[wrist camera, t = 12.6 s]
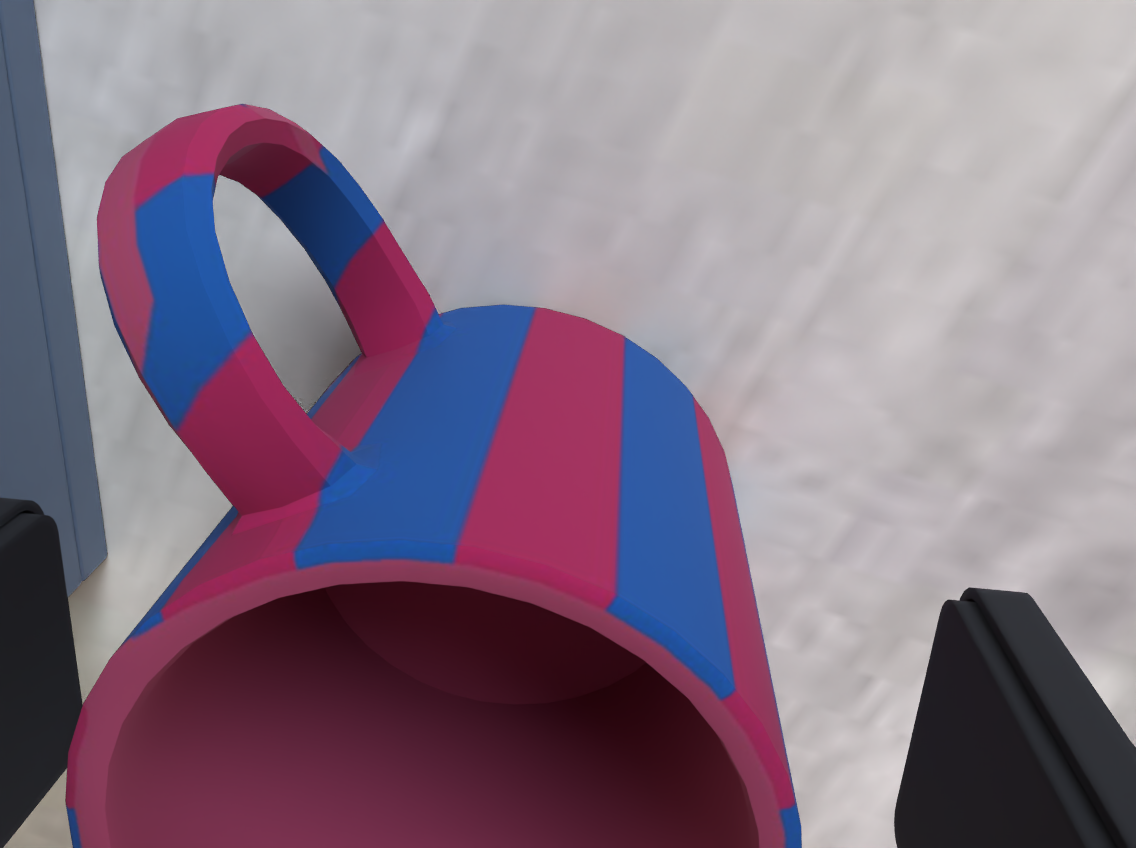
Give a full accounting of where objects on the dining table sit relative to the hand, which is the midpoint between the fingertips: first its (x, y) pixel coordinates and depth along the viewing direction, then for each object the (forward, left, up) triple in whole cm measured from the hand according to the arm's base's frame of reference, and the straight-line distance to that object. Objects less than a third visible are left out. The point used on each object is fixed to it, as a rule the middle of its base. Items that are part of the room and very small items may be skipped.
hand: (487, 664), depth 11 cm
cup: (-1, -1, -5) cm, 5 cm away
